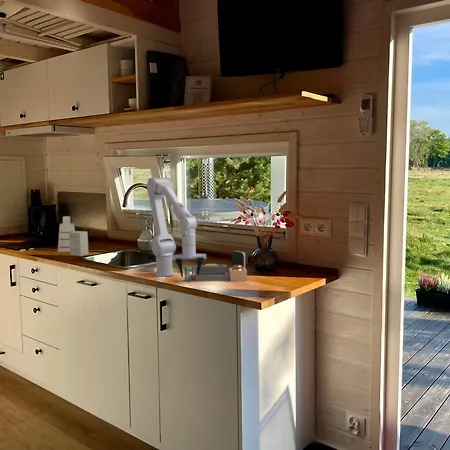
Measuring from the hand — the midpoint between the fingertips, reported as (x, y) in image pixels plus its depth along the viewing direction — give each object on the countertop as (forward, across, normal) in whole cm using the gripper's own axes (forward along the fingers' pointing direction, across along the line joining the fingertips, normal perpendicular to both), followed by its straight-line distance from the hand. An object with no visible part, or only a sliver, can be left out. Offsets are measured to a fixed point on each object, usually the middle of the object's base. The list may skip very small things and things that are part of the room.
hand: (189, 275), depth 212 cm
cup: (+2, +20, -2) cm, 21 cm away
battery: (+3, +22, +6) cm, 23 cm away
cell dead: (+2, +20, -2) cm, 21 cm away
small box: (+1, -61, +70) cm, 93 cm away
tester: (+2, +10, +2) cm, 10 cm away
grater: (0, -71, +86) cm, 112 cm away
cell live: (+2, 0, 0) cm, 2 cm away
